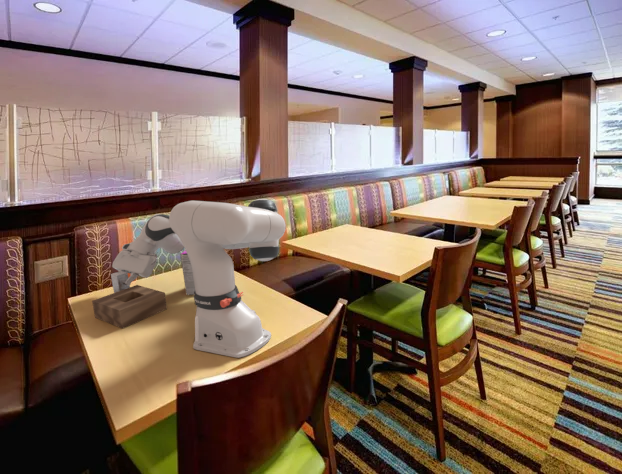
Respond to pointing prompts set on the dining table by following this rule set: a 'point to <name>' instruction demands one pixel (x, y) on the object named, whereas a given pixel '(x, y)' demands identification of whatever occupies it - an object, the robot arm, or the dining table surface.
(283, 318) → the dining table surface
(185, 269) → the candy bar box
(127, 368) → the dining table surface
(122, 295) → the post socket
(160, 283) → the dining table surface
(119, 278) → the peg
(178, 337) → the dining table surface
